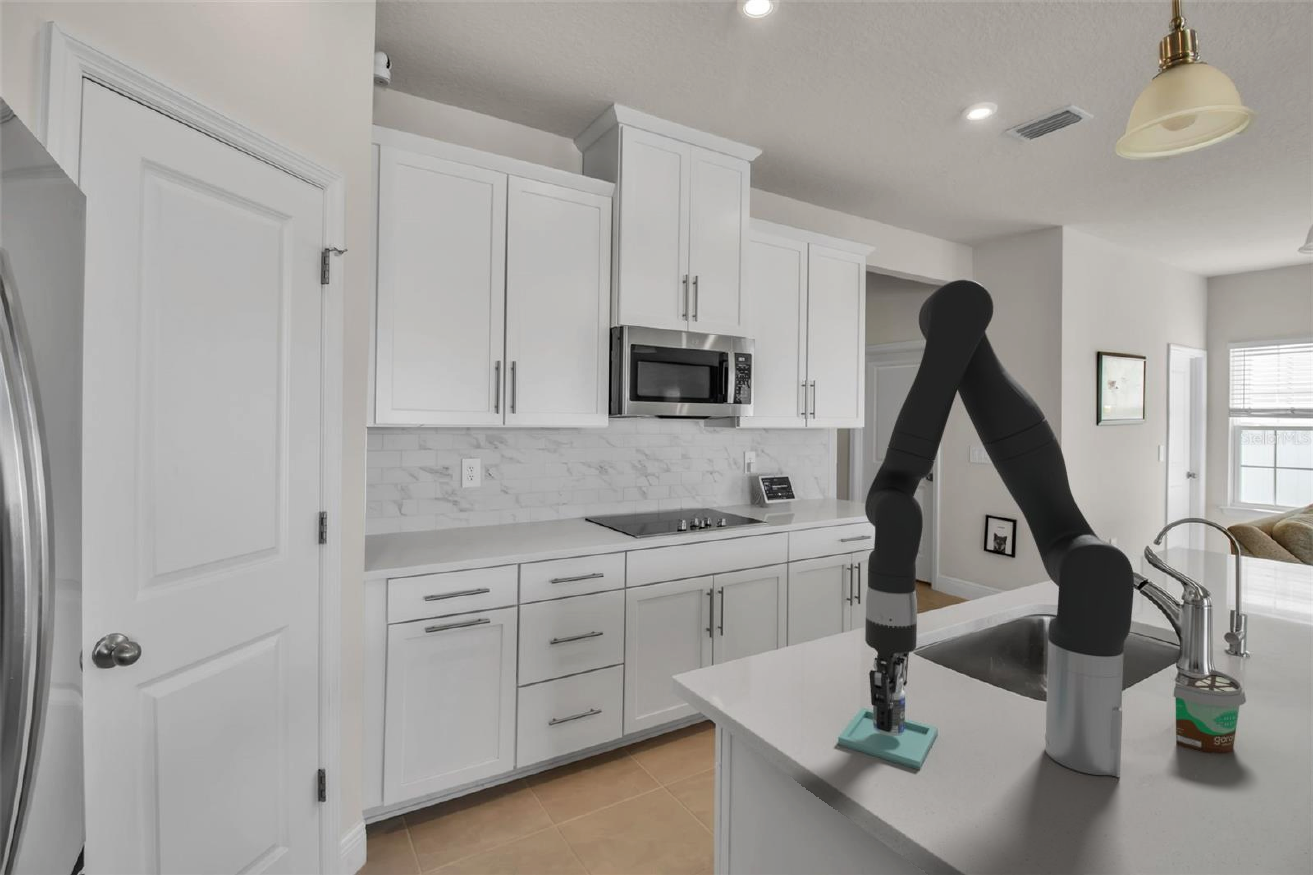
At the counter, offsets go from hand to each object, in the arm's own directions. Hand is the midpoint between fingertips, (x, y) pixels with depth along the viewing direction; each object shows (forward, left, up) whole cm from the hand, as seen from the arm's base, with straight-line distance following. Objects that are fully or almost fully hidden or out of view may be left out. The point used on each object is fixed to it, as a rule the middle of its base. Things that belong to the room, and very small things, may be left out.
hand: (889, 722), depth 100 cm
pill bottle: (0, 0, -1) cm, 1 cm away
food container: (-42, -27, -3) cm, 50 cm away
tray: (0, 0, -3) cm, 3 cm away
